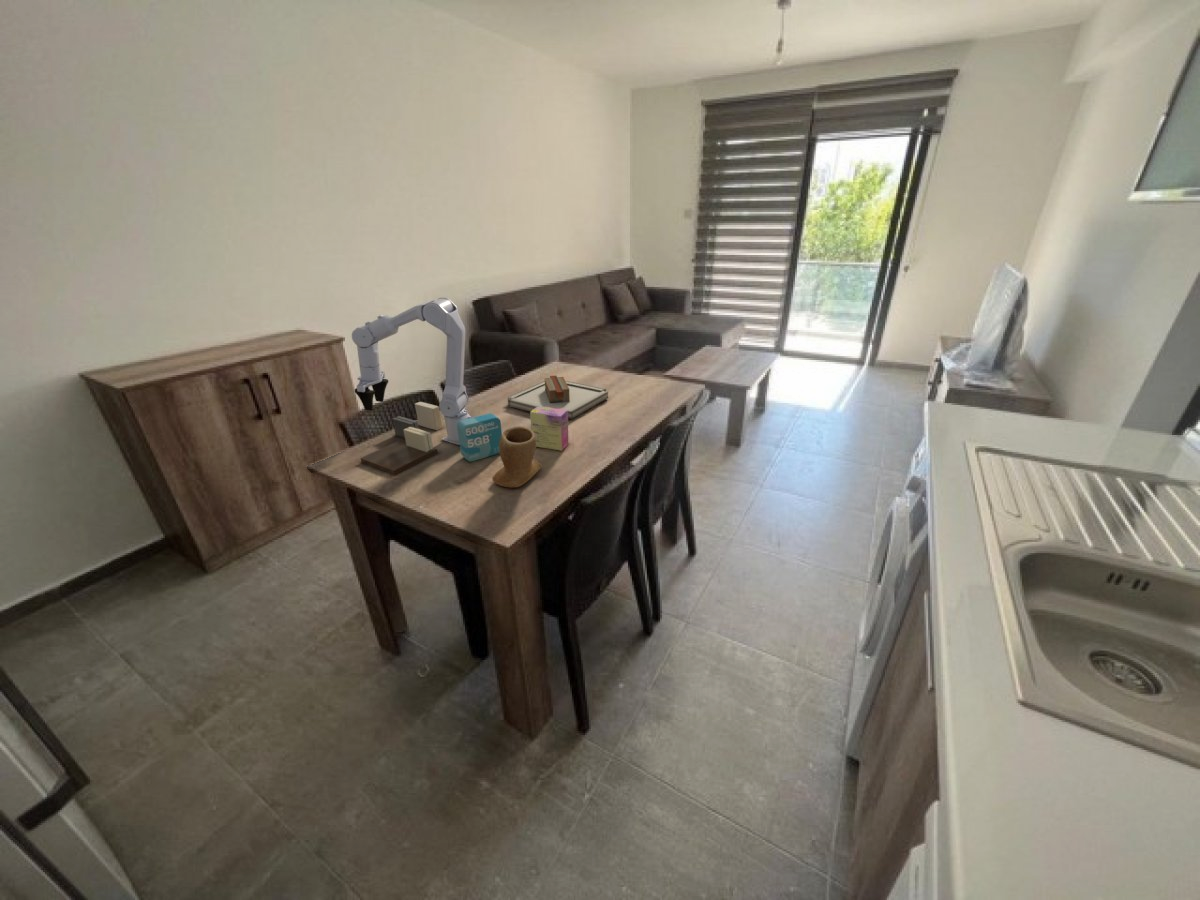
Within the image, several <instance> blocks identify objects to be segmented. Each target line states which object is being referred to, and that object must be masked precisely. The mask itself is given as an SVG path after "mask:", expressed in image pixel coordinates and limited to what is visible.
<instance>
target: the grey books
mask: <svg viewBox="0 0 1200 900" xmlns="http://www.w3.org/2000/svg"><path fill="white" fill-rule="evenodd" d="M391 421H392V425H393V429H394V433H395V436H397V437H400V438H402V439H404V438H405V435H404V431H403V430H404V429H406V428H408V427H413V428H417V429H420V428H419V424H418V420H414V419H410V418H408V417H403V416H400V415H398V416H396V417H393V418H392V419H391Z"/></svg>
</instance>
